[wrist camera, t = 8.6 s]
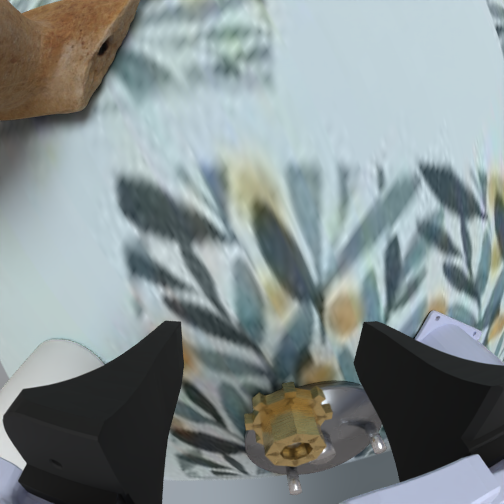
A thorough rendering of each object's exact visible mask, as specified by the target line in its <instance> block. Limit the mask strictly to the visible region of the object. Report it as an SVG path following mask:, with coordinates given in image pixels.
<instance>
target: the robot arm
mask: <svg viewBox="0 0 504 504" xmlns="http://www.w3.org/2000/svg"><path fill="white" fill-rule="evenodd" d="M436 317H437V318H436ZM481 334H482V332H481V331H480V330H478V329H476V328H474V327H472V326H469V325H467V324H465V323H462V322H460V321H458V320H456V319H453V318H451V317H449V316H447V315H444V314H442V313H440V312H437V311H435V310H433V311H431V312H430V314H429V315H428V317H427V319H426V320H425V322H424V324H423V326H422V327H421V329H420V331H419V332H418V334H417V336H416V337H415V339H413V338H411V337H409V336H407V335H405V334H403V333H401V332H399V331H397V330H395V329H393V328H391V327H389V326H387V325H385V324H382V323H380V322H377V321H375V322H364V323H363V328H362V332H361V336H360V340H359V344H358V348H357V352H356V356H355V360H354V366H355V369H356V372H357V375H358V377H359V380H360V382H361V384H362V386H363V388H364V390H365V392H366V394H367V396H368V398H369V400H370V401H371V403H372V405H373V407H374V409H375V411H376V413H377V415H378V416H379V418H380V420H381V422H382V425H383V427H384V429H385V432H386V435H387V437H388V440H389V443H390V446H391V449H392V453H393V456H394V459H395V463H396V467H397V471H398V476H399V480H400V483H397V484H394V485H390V486H387V487H383V488H380V489H376V490H373V491H370V492H367V493H364V494H361V495H358V496H355V497H352V498H349V499H347V500H345V501H343V502H341V503H339V504H504V363H503V362H502V361H501V360H500V359H499V358H498V357H497V356H495V355H494V354H493V353H492V352H491V351H490V350H488V349H487V348H486V347H485V346H484V345H482V344H481V343H480V342H479V341H478V340H479V338H480V337H481ZM183 368H184V360H183V347H182V332H181V322H176V321H164V322H163V323H162V324H161V325H159V326H158V327H157V328H156V329H155V330H154V331H152V332H151V333H150V334H149V335H148V336H146V337H145V338H144V339H143V340H141V341H140V342H139V343H138V344H136V345H135V346H133V347H132V348H131V349H129V350H128V351H126V352H125V353H124V354H122V355H121V356H119V357H117V358H116V359H114V360H112V361H111V362H109V363H107V364H105V365H103V366H101V367H99V368H97V369H95V370H92V371H90V372H88V373H85V374H83V375H80V376H78V377H75V378H72V379H69V380H65V381H62V382H58V383H54V384H50V385H45V386H39V387H33V388H26V389H23V390H22V391H21V392H20V393H19V395H18V396H17V397H16V399H15V400H14V402H13V403H12V404H11V406H10V407H9V408H8V410H7V411H6V413H5V414H4V415H3V420H2V421H3V425H4V429H5V431H6V433H7V435H8V437H9V439H10V440H11V442H12V443H13V445H14V446H15V448H16V449H17V451H18V452H19V453H20V455H21V456H22V458H23V459H24V460H25V462H26V463H27V464H26V466H25V468H24V470H22V469H20V468H19V467H18V466H17V465H15V464H13V463H12V462H9V461H7V460H6V459H4V458H2V457H0V504H162V493H163V479H164V468H165V457H166V449H167V441H168V435H169V430H170V427H171V423H172V419H173V415H174V411H175V408H176V404H177V400H178V396H179V393H180V389H181V384H182V377H183Z"/></svg>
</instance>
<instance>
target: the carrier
mask: <svg viewBox="0 0 504 504" xmlns="http://www.w3.org/2000/svg"><path fill="white" fill-rule="evenodd" d="M314 386H317V387H319V388H320V389H322V390H323V392H324V395H325V398H326V399H325V400H324V401H323V402H322V404H327V403H329V404H330V406H331V409H332V411H333V415H332V419H329V420H325V421H324V422H323V423H322V425H321V426H320V427H321V430H322V433H323V436H324V439H325V442H326V446H327V447H326V448H325V449H324V450H323V452H322V453H321V454H320V455H319V456H318V458H317V459H315V460H312V461H310V462H307V463H304V464H301V465H299V466H296V467H293V466H278V465H274V464H273V463H272V462H271V461H270V460H269V459H268V458H267V457H266V456H265V450H264V445H262V444H260V443H258V442H256V435H255V431H254V430H245V448H246V453H247V455H248V457H249V458H250V460H251V461H252V462H253V463H254V464H256V465H257V466H259V467H261V468H263V469H265V470H267V471H270V472H274V473H278V474H287V480H288V485H289V490H290V494H291V495H297V494H300V493H301V492H302V490H301V485H300V481H299V476H298V475H299V474H309V473H315V472H319V471H323V470H326V469H330V468H332V467H335V466H337V465H340V464H342V463H344V462H346V461H347V460H349V459H351V458H353V457H354V456H356V455H357V454H358V453H360V452H361V451H362V450H363V449H365V448H366V447H367V446H368V445H369V444H370V443H371V445H372V448H373V450H374V452H375V454H380V453H382V452H384V451H385V450H386V448H387V447H386V445H385V443H384V441H383V439H382V437H381V435H380V434H379V430H380V428H381V425H382V422H381V420H380V418H379V416H378V415H377V413H376V411H375V409H374V407H373V405H372V403H371V401H370V400H369V398H368V396H367V394H366V392H365V390H364V388H363V386H362V385H360V384H357V383H353V382H347V381H324V382H318V383H313V384H309V385H304V386H301V387H298V388H299V389H305V390H311V389H312V388H313V387H314ZM300 444H301V442H296V443H293V444H291V445H288V446H286V447H288V448H296V447H298V446H300Z"/></svg>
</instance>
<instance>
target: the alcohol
mask: <svg viewBox="0 0 504 504" xmlns="http://www.w3.org/2000/svg"><path fill="white" fill-rule="evenodd" d="M103 365H105V364H104V363H103V362H102V361H101V360H100V359H99V358H98V357H97V356H96V355H95V354H94V353H93V352H92V351H90V350H89V349H87V348H86V347H84V346H82V345H80V344H78V343H76V342H73V341H70V340H63V339H53V340H47V341H44V342H43V343H41V344H40V345H39V346H38V347H37V348H36V349H35V350H34V351H33V353H32V354H31V355H30V356H29V357H28V358H27V359H26V361H25V362H24V363H23V364H22V365H21V366H20V367H19V369H18V370H17V371H16V372H15V373H14V374H13V376H12V377H11V378H10V379H9V381H8V382H7V383H6V384H5V385H4V386H3V388H2V389H1V390H0V457H2V458H4V459H6V460H7V461H9V462H12V463H13V464H15V465H17V466H18V467H19V468H20V469H22V470H24V468H25V466H26V464H27V463H26V462H25V460H24V459H23V458H22V456H21V455H20V453H19V452H18V451H17V449H16V448H15V446H14V445H13V443H12V442H11V440H10V439H9V437H8V435H7V433H6V431H5V429H4V425H3V421H2V420H3V415H4V414H5V413H6V411H7V410H8V408H9V407H10V406H11V404H12V403H13V402H14V400H15V399H16V397H17V396H18V395H19V393H20V392H21V391H22V390H23V389H26V388H33V387H39V386H45V385H50V384H54V383H58V382H62V381H65V380H69V379H72V378H75V377H78V376H80V375H83V374H85V373H88V372H90V371H92V370H95V369H97V368H99V367H101V366H103Z"/></svg>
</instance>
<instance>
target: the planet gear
mask: <svg viewBox="0 0 504 504" xmlns="http://www.w3.org/2000/svg"><path fill="white" fill-rule="evenodd" d="M325 399H326V398H325V395H324V392H323V390H322V389H320V388H319V387H317V386H314V387H313V388H312V389H311V390H305V389H299V388H295V386H294V382H289V383H282V389H281V390H279V391H276V392H274V393H271V394H269V395H266V396H265V395H263V394H261V393H258V394H257V395H256V396H255V397H253V398H252V404H253V409H254V410H253V412H252V413H251V414H244V415H245V427H246V430H254V431H255V435H256V442H258V443H260V444H262V445H264V450H265V456H266V457H267V458H268V459H269V460H270V461H271V462H272V463H273V464H274V465H278V466H293V467H296V466H299V465H301V464H304V463H307V462H310V461H312V460H315V459H317V458H318V456H319V455H320V454H321V453H322V452H323V450H324V449H325V448H326V447H327V446H326V442H325V439H324V436H323V433H322V430H321V427H320V426H321V425H322V423H323V422H324V421H325V420H329V419H332V415H333V411H332V409H331V406H330V404H329V403H327V404H322V402H323V401H324V400H325ZM296 442H301V444H300V446H298V447H296V448H288V447H286V446H288V445H291V444H293V443H296Z"/></svg>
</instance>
